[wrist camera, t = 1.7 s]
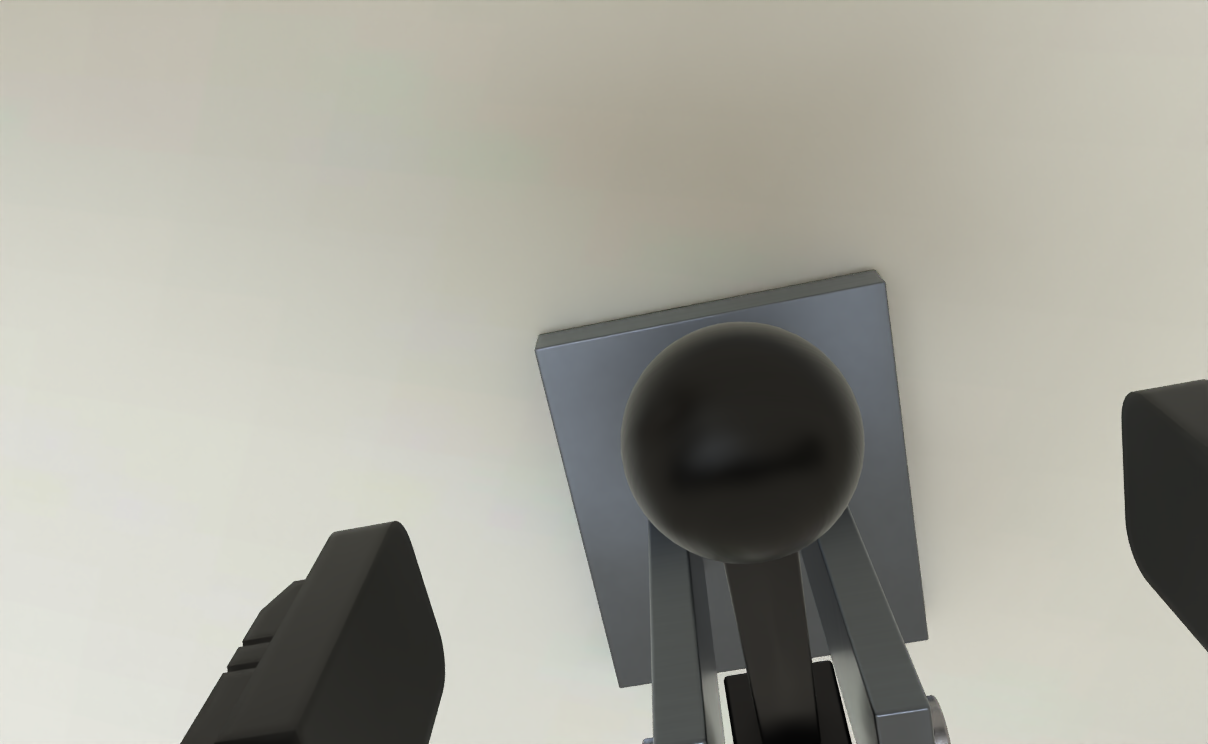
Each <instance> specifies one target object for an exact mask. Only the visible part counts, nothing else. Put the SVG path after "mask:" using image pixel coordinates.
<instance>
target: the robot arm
mask: <svg viewBox="0 0 1208 744" xmlns="http://www.w3.org/2000/svg"><path fill="white" fill-rule="evenodd" d="M1122 445H1123V470H1124V496H1125V520H1126V530H1127V535H1128V540H1129V544H1130V547H1131V551H1132V553H1133V556H1134V559H1135V561H1136V563H1137V566H1138V568H1139V569H1140V571H1141V573H1142V575H1143V576H1144V578H1145V579H1146V581H1147V582H1148V583H1149V584H1150V585H1151V587H1152V588H1153V589H1154V590H1155V591H1156V592H1157V594H1158V595H1159V596H1160V597H1161V598H1162V599H1163V600H1164V602H1165V603H1166V604H1167V605H1168V606H1169V607H1170V609H1171V610H1172V611H1173V612H1174V613H1175V614H1176V616H1177V617H1178V618H1179V619H1180V620H1181V621H1182V623H1183V624H1184V625H1185V626H1186V627H1187V628H1188V630H1189V631H1190V632H1191V633H1192V634H1193V635H1194V637H1195V638H1196V639H1197V640H1198V641H1199V642H1200V643H1201V645H1202V646H1203V647H1204V648H1205V649H1206V650H1207V652H1208V380H1205V379H1203V380H1197V381H1191V382H1186V383H1180V384H1174V385H1169V386H1163V387H1157V388H1152V389H1146V390H1140V391H1135V392H1130V393H1129V394H1128V395H1127V396H1126V397H1125V400H1124V402H1123V406H1122ZM242 642H243V647H239V648H238V649H237V651H236V653H235V654H234V656H233V657H232V659H231V661H230V662H229V664H228V666H227V669H228V672H227V673H223V674H222V676H221V677H220V679H219V681H218V682H217V684H216V686H215V687H214V689H213V691H212V692H211V694H210V696H209V697H208V699H207V700H206V702H205V704H204V705H203V707H202V709H201V710H200V712H199V714H198V715H197V717H196V719H195V720H194V722H193V724H192V725H191V727H190V729H189V730H188V732H187V734H186V735H185V737H184V739H183V740H182V742H181V743H180V744H429V740H430V736H431V733H432V729H433V725H434V722H435V718H436V715H437V711H438V707H439V704H440V700H441V697H442V693H443V688H444V681H445V660H444V651H443V645H442V640H441V636H440V632H439V629H438V626H437V623H436V619H435V616H434V613H433V610H432V607H431V604H430V601H429V597H428V594H427V591H426V588H425V585H424V582H423V579H422V575H421V572H420V569H419V566H418V563H417V560H416V556H415V553H414V550H413V547H412V544H411V541H410V538H409V536H408V534H407V531H406V530H405V528H404V527H403V525H402V524H401V523H399V522H397V521H393V522H388V523H382V524H376V525H371V526H365V527H360V528H354V529H348V530H343V531H337V532H334V533H332V534H331V536H330V537H329V539H328V540H327V542H326V544H325V546H324V547H323V549H322V551H321V553H320V555H319V556H318V558H317V560H316V562H315V563H314V565H313V567H312V569H311V571H310V572H309V574H308V576H307V578H306V580H300V581H294V582H293V583H292V584H291V585H289V586H288V587H287V588H286V589H285V590H284V591H283V592H281V593H280V594H279V595H278V596H277V597H276V598H275V599H274V600H272V601H271V602H270V603H269V604H268V605H267V606H266V607H264V608H263V609H262V610H261V611H260V613H259V614H258V616H257V618H256V619H255V621H254V623H253V624H252V626H251V628H250V629H249V631H248V633H247V634H246V636H245V638H244V639H243V641H242Z"/></svg>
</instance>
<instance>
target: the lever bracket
mask: <svg viewBox="0 0 1208 744" xmlns="http://www.w3.org/2000/svg"><path fill="white" fill-rule="evenodd" d="M727 322H755V323H762V324H768V325H772V326H775V327H779V328H782V329H784V330H786V331H789V332H791V333H794V334H796V335H798V336H800V337H802V338H803V339H805V340H807V341H808V342H810V343H811V344H813V345H814V346H815V347H817V348H818V349H819V350H821V351H822V352H823V353H824V354H825V355H826V356H827V357H828V358H829V359H830V360H831V361H832V362H833V363H834V364H835V366H836V367H837V368H838V369H839V370H840V372H841V373H842V375H843V376H844V378H845V379H846V381H847V383H848V384H849V386H850V387H851V389H852V392H853V394H854V396H855V399H856V401H857V404H858V407H859V409H860V413H861V418H862V422H863V429H864V443H865V447H864V458H863V467H862V470H861V474H860V478H859V481H858V484H857V487H856V490H855V492H854V494H853V496H852V498H851V500H850V502H849V504H848V506H847V507H846V509H845V510H844V512H843V513H842V515H841V516H840V517H839V518H838V520H837V521H836V522H835V523H834V524H833V526H832V527H831V528H830V529H829V530H828V531H827V532H825V533H824V534H823V535H822V536H821V537H819V538H818V539H817V540H816V541H814V542H813V543H811V544H810V545H809V546H807V547H805V548H803V549H802V550H800V551H799V557H800V565H801V574H802V582H803V591H804V599H805V607H806V616H807V624H808V632H809V641H810V649H811V658H815V657H821V656H827V655H831V658H832V661H833V665H834V668H835V672H836V675H837V678H838V682H839V685H840V689H841V692H842V696H843V699H844V702H845V706H846V709H847V713H848V716H849V720H850V723H851V726H852V730H853V733H854V737H855V740H856V743H857V744H951V743H950V738H949V734H948V730H947V726H946V722H945V719H944V716H943V713H942V710H941V707H940V705H939V703H938V701H937V699H936V698H935V696H932V695H930V696H926V694H925V692H924V690H923V687H922V685H921V682H920V680H919V677H918V675H917V672H916V670H915V668H914V665H913V663H912V660H911V658H910V655H909V653H908V651H907V648H906V646H905V643H910V642H916V641H923V640H928V631H927V623H926V615H925V606H924V598H923V590H922V581H921V573H920V565H919V556H918V548H917V540H916V532H915V523H914V515H913V507H912V498H911V490H910V482H909V473H908V465H907V457H906V449H905V440H904V432H903V424H902V415H901V407H900V399H899V390H898V382H897V374H896V366H895V357H894V349H893V341H892V332H891V324H890V316H889V308H888V299H887V291H886V283H885V281H884V280H883V279H882V278H881V276H880V275H879V274H878V273H877V272H876V270H870V271H865V272H860V273H855V274H850V275H845V276H840V277H834V278H829V279H824V280H819V281H814V282H809V283H804V284H799V285H793V286H788V287H783V288H778V289H773V290H768V291H763V292H757V293H752V294H747V295H742V296H737V297H732V298H727V299H722V300H716V301H711V302H706V303H701V304H696V305H691V306H686V307H680V308H675V309H670V310H665V311H660V312H655V313H650V314H645V315H639V316H634V317H629V318H624V319H619V320H614V321H609V322H603V323H598V324H593V325H588V326H583V327H578V328H573V329H567V330H562V331H557V332H552V333H547V334H542V335H539V336H538V339H537V343H536V347H535V354H536V358H537V362H538V366H539V370H540V374H541V378H542V382H543V386H544V390H545V394H546V398H547V402H548V406H549V410H550V414H551V418H552V422H553V426H554V430H555V434H556V438H557V442H558V445H559V449H560V453H561V457H562V461H563V465H564V469H565V473H566V477H567V481H568V485H569V489H570V493H571V497H572V501H573V505H574V509H575V513H576V517H577V521H578V525H579V529H580V533H581V537H582V541H583V545H584V549H585V553H586V557H587V561H588V565H589V569H590V573H591V577H592V580H593V584H594V588H595V592H596V596H597V600H598V604H599V608H600V612H601V616H602V620H603V624H604V628H605V632H606V636H607V640H608V644H609V648H610V652H611V656H612V660H613V664H614V668H615V672H616V676H617V680H618V684H619V687H620V688H624V687H630V686H637V685H643V684H650V683H652V712H653V738H647V739H644V740H643V742H642V744H725V738H724V729H723V721H722V713H721V704H720V696H719V687H718V679H717V673H719V672H726V671H732V670H738V669H745V668H746V666H745V661H744V656H743V652H742V647H741V643H740V638H739V633H738V629H737V624H736V620H735V615H734V610H733V606H732V601H731V597H730V592H729V587H728V583H727V578H726V574H725V569H724V564H723V562H718V561H714V560H711V559H707V558H704V557H701V556H698V555H696V554H693V553H691V552H689V551H688V550H686V549H684V548H682V547H680V546H679V545H677V544H675V543H674V542H672V541H671V540H670V539H668V538H667V537H666V536H665V535H664V534H662V533H661V532H660V531H659V530H658V529H657V528H656V527H655V526H654V525H653V524H652V523H651V522H650V520H649V519H648V518H647V517H646V515H645V514H644V513H643V511H642V510H641V508H640V507H639V505H638V503H637V502H636V500H635V498H634V496H633V494H632V492H631V490H630V487H629V485H628V482H627V479H626V476H625V472H624V467H623V462H622V457H621V427H622V421H623V416H624V411H625V407H626V405H627V402H628V399H629V397H630V394H631V392H632V389H633V387H634V386H635V384H636V382H637V381H638V379H639V377H640V376H641V374H642V372H643V371H644V370H645V368H646V367H647V366H648V365H649V364H650V362H651V361H652V360H653V359H654V358H655V357H656V356H657V355H658V354H659V353H660V352H662V351H663V350H664V349H665V348H666V347H668V346H669V345H670V344H672V343H673V342H675V341H676V340H678V339H680V338H682V337H683V336H685V335H687V334H689V333H691V332H694V331H696V330H698V329H701V328H704V327H707V326H711V325H715V324H720V323H727Z"/></svg>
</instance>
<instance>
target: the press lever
mask: <svg viewBox="0 0 1208 744" xmlns="http://www.w3.org/2000/svg"><path fill="white" fill-rule="evenodd" d="M864 447H865V443H864V429H863V422H862V418H861V413H860V409H859V407H858V404H857V401H856V399H855V396H854V394H853V392H852V389H851V387H850V386H849V384H848V383H847V381H846V379H845V378H844V376H843V375H842V373H841V372H840V370H839V369H838V368H837V367H836V366H835V364H834V363H833V362H832V361H831V360H830V359H829V358H828V357H827V356H826V355H825V354H824V353H823V352H822V351H821V350H819V349H818V348H817V347H815V346H814V345H813V344H811V343H810V342H808V341H807V340H805V339H803V338H802V337H800V336H798V335H796V334H794V333H791V332H789V331H786V330H784V329H782V328H779V327H775V326H772V325H768V324H762V323H755V322H727V323H720V324H715V325H711V326H707V327H704V328H701V329H698V330H696V331H694V332H691V333H689V334H687V335H685V336H683V337H682V338H680V339H678V340H676V341H675V342H673V343H672V344H670V345H669V346H668V347H666V348H665V349H664V350H663V351H662V352H660V353H659V354H658V355H657V356H656V357H655V358H654V359H653V360H652V361H651V362H650V364H649V365H648V366H647V367H646V368H645V370H644V371H643V372H642V374H641V376H640V377H639V379H638V381H637V382H636V384H635V386H634V387H633V389H632V392H631V394H630V397H629V399H628V402H627V405H626V407H625V411H624V416H623V421H622V427H621V457H622V462H623V467H624V472H625V476H626V479H627V482H628V485H629V487H630V490H631V492H632V494H633V496H634V498H635V500H636V502H637V503H638V505H639V507H640V508H641V510H642V511H643V513H644V514H645V515H646V517H647V518H648V519H649V520H650V522H651V523H652V524H653V525H654V526H655V527H656V528H657V529H658V530H659V531H660V532H661V533H662V534H664V535H665V536H666V537H667V538H668V539H670V540H671V541H672V542H674V543H675V544H677V545H679V546H680V547H682V548H684V549H686V550H688V551H689V552H691V553H693V554H696V555H698V556H701V557H704V558H707V559H711V560H714V561H718V562H723V564H724V569H725V574H726V578H727V583H728V587H729V592H730V597H731V601H732V606H733V610H734V615H735V620H736V624H737V629H738V633H739V638H740V643H741V647H742V652H743V656H744V661H745V666H746V670H747V673H744V674H738V675H731V676H727V677H725V679H724V685H725V692H726V698H727V704H728V711H729V717H730V723H731V730H732V736H733V742H734V744H852V742H851V738H850V734H849V730H848V725H847V721H846V717H845V713H844V709H843V705H842V701H841V697H840V692H839V688H838V684H837V680H836V676H835V672H834V668H833V664H832V663H831V661H828V660H827V661H821V662H814V663H812V658H811V649H810V641H809V632H808V624H807V616H806V607H805V599H804V591H803V582H802V574H801V565H800V557H799V551H800V550H802V549H803V548H805V547H807V546H809V545H810V544H811V543H813V542H814V541H816V540H817V539H818V538H819V537H821V536H822V535H823V534H824V533H825V532H827V531H828V530H829V529H830V528H831V527H832V526H833V524H834V523H835V522H836V521H837V520H838V518H839V517H840V516H841V515H842V513H843V512H844V510H845V509H846V507H847V506H848V504H849V502H850V500H851V498H852V496H853V494H854V492H855V490H856V487H857V484H858V481H859V478H860V474H861V470H862V467H863V458H864Z"/></svg>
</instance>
